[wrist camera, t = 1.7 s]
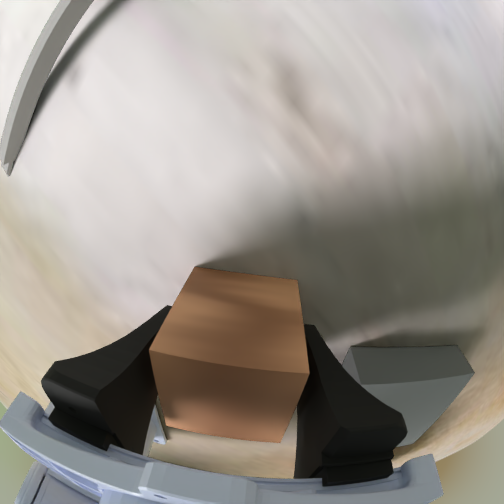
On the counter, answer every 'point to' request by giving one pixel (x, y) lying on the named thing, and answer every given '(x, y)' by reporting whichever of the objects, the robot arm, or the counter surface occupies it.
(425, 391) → the base
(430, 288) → the counter surface
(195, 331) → the block
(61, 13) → the caliper
